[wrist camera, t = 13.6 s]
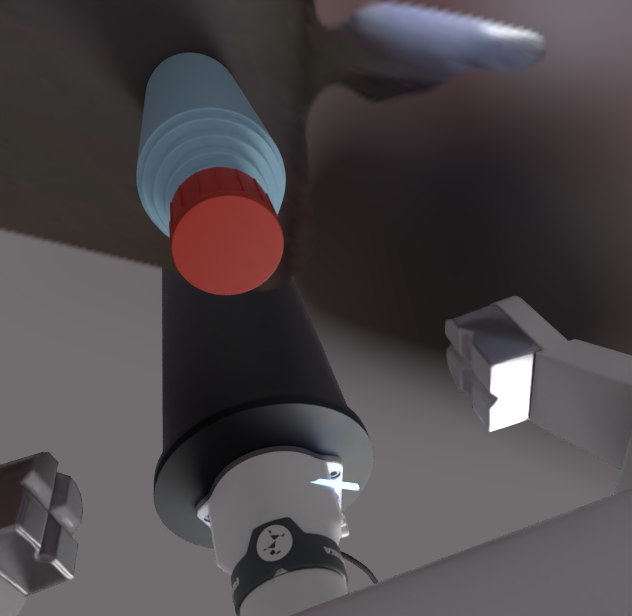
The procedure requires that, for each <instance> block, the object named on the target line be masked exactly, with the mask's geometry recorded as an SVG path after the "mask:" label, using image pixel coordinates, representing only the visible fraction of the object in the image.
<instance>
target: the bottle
mask: <svg viewBox="0 0 632 616" xmlns="http://www.w3.org/2000/svg"><path fill="white" fill-rule="evenodd" d="M212 167H228V168H233V169H238V170H240V171H242V172H244V173H246V174H248V175H249V176H251V177H252V178H253V179H254V178H255V179H256V181H257V182H258V183H259V185H260V186H261V187H262V189H263V190H264V192H265V194H266V193H267V194H268V196H269V198H270V201H271V203H272V205H273V207H274V209H275V211H276V214H278V212H279V209H280V206H281V203H282V200H283V196H284V192H285V183H286V180H285V169H284V163H283V160H282V157H281V154H280V152H279V150H278V148H277V146H276V144H275V143H274V141H273V139H272V138H271V136H270V135H269V133H268V132H267V130H266V128H265V127H264V125H263V124H262V122H261V120H260V119H259V117H258V116H257V114H256V113H255V111H254V109H253V108H252V106H251V105H250V103H249V102H248V100H247V98H246V97H245V95H244V94H243V92H242V91H241V89H240V87H239V86H238V84H237V83H236V81H235V79H234V78H233V76H232V75H231V74H230V72H229V71H228V70H227V69H226V68H225V67H224V66H223V65H222V64H221V63H219V62H218V61H216V60H215V59H213V58H211V57H209V56H206V55H203V54H199V53H181V54H177V55H174V56H171V57H169V58H167V59H166V60H164V61H163V62H162V63H160V64H159V65H158V66H157V67H156V69H155V70H154V71H153V73H152V75H151V76H150V78H149V81H148V84H147V88H146V94H145V102H144V111H143V119H142V128H141V136H140V145H139V153H138V162H137V172H136V181H137V189H138V194H139V197H140V200H141V203H142V205H143V207H144V209H145V211H146V213H147V214H148V216H149V217H150V219H151V220H152V221H153V222H154V223H155V225H156V226H157V227H158V228H159V229H160V230H161V231H162V232H163V233H164V234H165V235H167V236H168V237H169V238H170V236H169V221H170V202H171V203H172V199H173V197H174V194H175V192H176V191H177V189H178V188H179V187H178V186H179V185H181V184H182V183H183V182H184V181H185V180H186V179H187V178H188V177H190V176H191V175H193V174H194V173H195V172H199V171H201V170H204V169H208V168H212Z"/></svg>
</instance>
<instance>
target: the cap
mask: <svg viewBox="0 0 632 616" xmlns="http://www.w3.org/2000/svg"><path fill="white" fill-rule="evenodd" d="M178 187H179V188H178V189H177V191H176V192H175V194H174V197H173V199H172V203H171V202H170V221H169V236H170V248H171V250H172V256H173V260H174V263H175V265H176V267H177V269H178V270H179V272H180V273H181V275H182V276H183V277H184V278H185V279H186V280H187V281H188V282H189V283H191V284H192V285H194V286H195V287H197V288H199V289H201V290H203V291H206V292H209V293H213V294H218V295H233V294H239V293H243V292H247V291H249V290H252V289H254V288H256V287H257V286H259V285H261V284H262V283H263V282H265V281H266V280H267V279H268V278H269V277H270V276H271V275H272V274H273V272H274V271H275V270H276V268H277V266H278V264H279V262H280V260H281V257H282V253H283V247H284V239H283V233H282V230H281V227H280V224H279V222H278V220H277V218H276V217H278V216H277V214H276V211H275V209H274V207H273V205H272V203H271V201H270V198H269V196H268V194H267V193H266V194H265V192H264V190H263V189H262V187H261V186H260V185H259V183H258V182H257V181H256V179H255V178H254V179H253V178H252V177H251V176H249V175H248V174H246V173H244V172H242V171H240V170H238V169H233V168H228V167H212V168H208V169H204V170H201V171H199V172H195V173H194V174H193V175H191V176H190V177H188V178H187V179H186V180H185V181H184V182H183V183H182V184H181V185H179V186H178Z"/></svg>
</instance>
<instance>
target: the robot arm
mask: <svg viewBox="0 0 632 616" xmlns="http://www.w3.org/2000/svg"><path fill="white" fill-rule="evenodd" d="M445 335H446V336H447V337H448V339H449V340H450V341H451V344H450V345H449V347H448V349H447V350H446V353H447V363H448V367H449V370H450V373H451V376H452V378H453V380H454V382H455V383H456V385H457V386H458V388H459V389H460V391H461V392H462V393H464V394H466V395H469V396H471V397H472V408H473V409H474V411H475V412H476V413H477V415H478V416H479V418H480V419H481V421H482V422H483V423H484V425H485V426H486V427H487V429H488V430H489V431H490V432H491V431H494V430H497V429H500V428H503V427H506V426H509V425H512V424H516V423H519V422H522V421H525V420H528V419H530V422H532V423H534V424H536V425H538V426H539V427H541V428H543V429H545V430H547V431H549V432H551V433H553V434H555V435H556V436H558V437H560V438H562V439H564V440H566V441H567V442H569V443H571V444H573V445H575V446H577V447H579V448H580V449H582V450H584V451H586V452H588V453H590V454H592V455H594V456H596V457H597V458H599V459H601V460H603V461H605V462H607V463H608V464H610V465H612V466H614V467H616V468H618V469H620V470H621V471H620V474H619V478H618V482H617V485H616V489H615V492H614V495H611V496H609V497H606V498H603V499H601V500H598V501H595V502H593V503H590V504H587V505H585V506H582V507H579V508H577V509H574V510H571V511H568V512H566V513H563V514H560V515H558V516H555V517H552V518H550V519H547V520H544V521H542V522H539V523H536V524H534V525H531V526H528V527H526V528H523V529H520V530H518V531H515V532H512V533H509V534H507V535H505V536H501V537H499V538H496V539H493V540H491V541H488V542H485V543H483V544H480V545H477V546H475V547H472V548H469V549H466V550H464V551H461V552H459V553H456V554H453V555H450V556H448V557H445V558H442V559H440V560H437V561H434V562H432V563H429V564H426V565H424V566H421V567H418V568H416V569H413V570H410V571H407V572H405V573H402V574H399V575H397V576H394V577H391V578H389V579H386V580H383V581H381V582H378V580H377V579H376V577H375V576H374V575H373V573H372V572H371V571H370V570H369V569H368V568H367V567H366V566H365V565H364V564H362V563H361V562H359V561H358V560H356V559H355V558H353V557H352V556H350V555H348V554H346V553H344V552H342V551H340V549H339V542H340V538H343V537H346V536H348V535H349V530H348V525H347V522H346V519H345V516H344V514H342V513H341V498H342V488H345V489H353V490H358V489H359V487H358V484H354V483H346V482H342V473H343V465H342V461H341V458H339V457H337V456H331V455H319V454H316V453H314V452H312V451H310V450H307V449H304V448H301V447H296V446H272V447H267V448H262V449H259V450H255V451H253V452H250V453H248V454H245V455H243V456H241V457H239V458H238V459H236V460H234V461H233V462H231V463H230V464H229V465H227V466H226V467H225V468H224V469H223V470H222V471H221V472H220V473H219V475H218V476H217V477H216V479H215V481H214V483H213V485H212V488H211V490H210V492H209V493H208V494H207V495H206V496H205V497H204V498H203V499H202V500H201V501H200V502H199V503H198V504H197V506H196V513H197V516H198V517H199V518H200V519H201V520H202V521H203V522H204V523H205V524H207V525H208V526H209V527H210V528H211V533H212V540H213V546H214V553H215V560H216V563H217V566H218V567H221V568H222V570H223V571H224V572H226V573H228V574H230V575H231V582H232V598H233V603H234V605H235V611H236V614H237V616H632V356H631V355H627V354H624V353H621V352H617V351H614V350H611V349H607V348H604V347H600V346H597V345H594V344H590V343H587V342H584V341H580V340H576V339H575V340H572V341H568V340H567V339H566V338H564V337H563V336H562V335H561V334H560V333H559V332H558V331H557V330H556V329H554V328H553V327H552V326H551V325H550V324H549V323H548V322H547V321H546V320H545V319H543V318H542V317H541V316H540V315H539V314H538V313H537V312H536V311H535V310H533V309H532V308H531V307H530V306H529V305H528V304H527V303H526V302H525V301H524V300H522V299H521V298H520V297H517V296H513V297H510V298H507V299H504V300H501V301H498V302H495V303H493V304H491V305H488V306H485V307H481V308H478V309H475V310H472V311H469V312H467V313H464V314H461V315H458V316H455V317H452V318H449V319H447V320H446V323H445ZM57 467H58V462H57V460H55V458H54V457H53V456H52V455H51V454H50V453H49V452H41V453H38V454H35V455H31V456H28V457H25V458H21V459H18V460H15V461H11V462H8V463H5V464H1V465H0V616H18V614H19V612H20V610H21V609H22V607H23V606H24V604H25V602H26V601H27V597H26V596H28V595H31V594H34V593H37V592H39V591H42V590H44V589H47V588H49V587H52V586H55V585H57V584H60V583H63V582H65V581H68V580H70V579H73V575H74V569H75V561H76V556H77V549H78V544H77V543H76V541H75V540H74V539H73V538H72V535H73V534H74V532H75V531H76V530H77V528H78V527H79V525H80V524H81V521H82V513H83V506H82V499H81V494H80V491H79V489H78V487H77V485H76V483H75V482H74V481H73V480H72V478H71V477H70V476H68V475H64V474H61V473H58V472H57ZM343 558H344V559H346V560H348V561H350V562H351V563H353V564H354V565H356V566H357V567H359V568H360V569H361V570H363V571H364V572H365V573H366V574H367V575H368V576H369V577H370V579H371V580H372V582H373V583H374V584H373V585H370V586H367V587H365V588H362V589H359V590H356V591H354V592H351V593H348V591H347V588H346V587H347V583H348V579H347V574H346V566H345V563H344V560H343Z"/></svg>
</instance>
